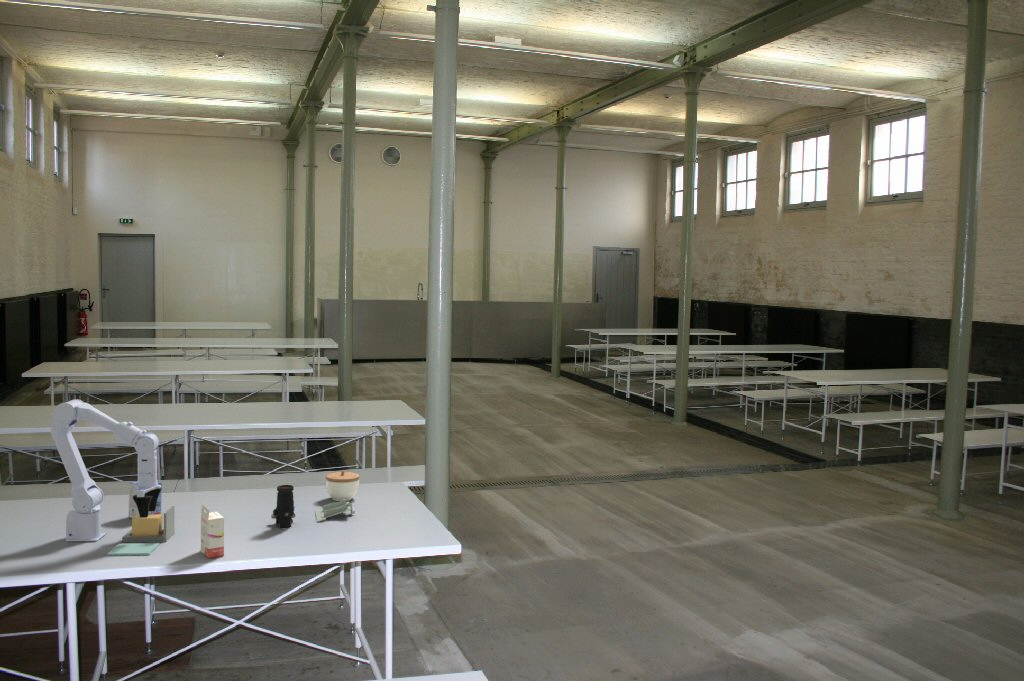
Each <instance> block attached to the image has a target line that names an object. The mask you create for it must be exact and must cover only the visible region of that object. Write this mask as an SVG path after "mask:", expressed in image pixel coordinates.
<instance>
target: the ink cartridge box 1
mask: <svg viewBox="0 0 1024 681" xmlns="http://www.w3.org/2000/svg"><path fill="white" fill-rule="evenodd" d="M158 485H161V488H162V482H158ZM137 486H138V480H137V481H134V482H133V481H132V482H130V483H128V518H129V517H130V518H131V519H132V518H133V517H134V516H136V515H139V511H138V508H137V505H136V503H135V501H134V500H133V496H134V495H137ZM154 514H162V491H161V492H160V494H159V497H158V500H157V505H156V509H155V511H149V513H148V515H154ZM130 518H129V519H130Z"/></svg>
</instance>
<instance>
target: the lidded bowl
mask: <svg viewBox="0 0 1024 681" xmlns="http://www.w3.org/2000/svg"><path fill="white" fill-rule="evenodd" d="M325 480H326V482H325V483H326V484H325V486H326V490H327V493H328V495H329V496H330V497H331V498H332V500H333V501H335V502H341V501H342V500H343V499H345V500H346V502H350V501H351V500H352V498H354V497H355V496H356V494H357V493H358V491H359V485H360V474H358V473H356V472H351V471H345V470H344V469H343V470H341V471H340V472H339V471H338V472H337V471H336V472H332V473H327V475H325Z"/></svg>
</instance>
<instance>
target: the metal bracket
mask: <svg viewBox="0 0 1024 681" xmlns="http://www.w3.org/2000/svg"><path fill="white" fill-rule="evenodd" d="M352 504H353V503H352V502H350V501H346V500H345V499H343V500H342V501H336V502H331V503H328V504H325V505H322V508H319V509H318V508H317V509H315V511H314V514H315V517H316V518H315V522H316V523H320V522H323V521H326V519H327V518H330V517H333V516H337V515H340V514H343V513H346V512H348V511H350V514H351V516H353V514H355V511H353V505H352Z"/></svg>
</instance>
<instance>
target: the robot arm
mask: <svg viewBox="0 0 1024 681" xmlns="http://www.w3.org/2000/svg"><path fill="white" fill-rule="evenodd" d="M51 418H52V420H51V426H50V436H51V438H52V439H53V442H54V445H55V448H56V449H57V452H58V454H59V457H60V459H61V461H62V463H63V466H64V469H65V471H66V473H67V475H68V478H69V480H70V481H69V482H70V483H71V491H70V494H71V495H70V496H71V498H72V502H71V504H72V508H73V509H74V510H69V511H68V513H67V516H66V520H65V521H66V522H65V523H66V524H65V529H66V530H65V531H66V532H65V534H66V537H65V542H97V541H99V540H100V539H101V538H102V537H104V536H105V535H106V532H102V509H101V503H102V502H103V500H104V496H105V495H104V492H103V490H102V489H101V488H100V487H99V486H98V484H97V483H96V481H95V480H93V478H92V477H90V475H89V472H88V470H87V467H86V465H85V463H84V461H83V457H82V456H81V453H80V450H79V448H78V445H77V444H76V440H75V438H74V436H73V434H72V431H73V429H74V428H75V427H76V424H77V423H78V422H83V421H84V422H85V421H86V422H87V421H89V422H91V423H94V424H96V425H98V426H100V427H102V428H104V429H107V430H109V431H111V432H113V436H114V438H115V439H118V440H119V441H122V442H123V443H125V444H127V445H129V446H130V447H134V450H135V451H136V452H137V481H138V486H137V495H134V496H133V500H134V501H135V503H136V505H137V508H138V511H139V515H140V518H147V517H148V513H149V511H155V509H156V505H157V500H158V497H159V494H160V492H161V493H162V490H163V489H162V487H161V485H158V483H159V482H158V454H157V452H158V451H157V449H158V447H159V445H160V439H159V437H158V435H157V434H155V433H154V432H148V431H147V430H146V429H140V428H139V427H136V426H135V425H134V423H133V422H131V421H128V422H127V421H121V422H120V421H118V420H116V419H114V418H112V417H111V416H109V415H108V414H106V413H104V412H102V411H100V410H99V409H98V408H96V407H94V406H92V405H91V404H90V403H88V402H84V401H83V400H81V399H78V398H75V399H74V398H73V399H71V400H68V401H67V402H61V403H59V404H57V406H55V409H54V410H52V413H51Z"/></svg>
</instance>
